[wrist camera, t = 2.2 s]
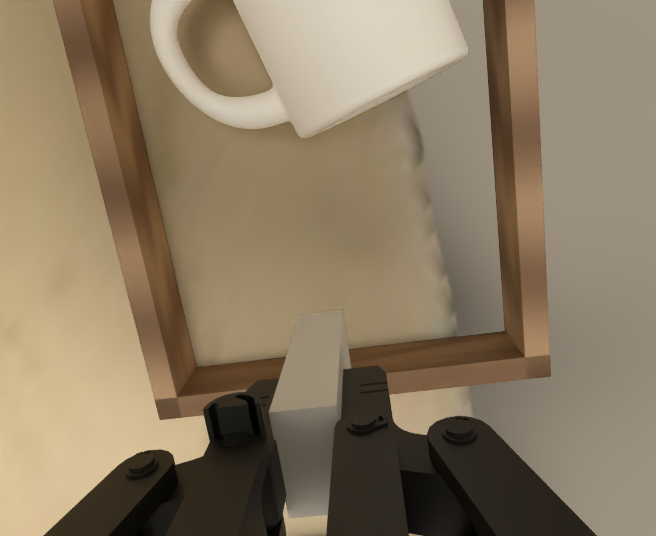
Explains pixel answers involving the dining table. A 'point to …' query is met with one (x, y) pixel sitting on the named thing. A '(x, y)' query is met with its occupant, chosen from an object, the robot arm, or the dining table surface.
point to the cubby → (396, 360)
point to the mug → (320, 57)
